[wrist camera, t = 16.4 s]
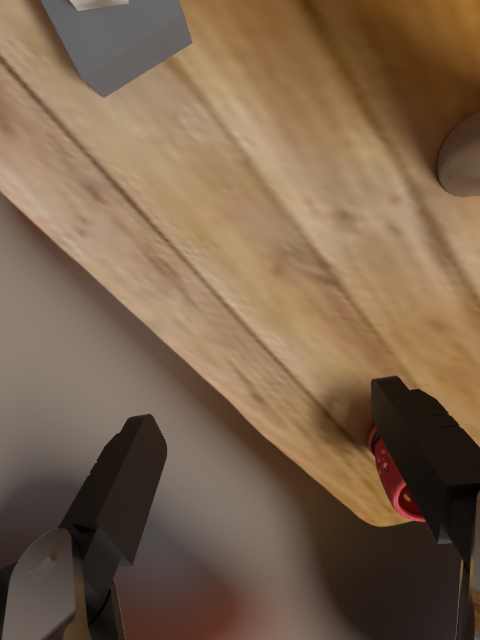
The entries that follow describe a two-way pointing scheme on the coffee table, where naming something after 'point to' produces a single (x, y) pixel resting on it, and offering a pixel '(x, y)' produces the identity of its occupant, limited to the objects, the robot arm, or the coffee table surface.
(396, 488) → the plant pot
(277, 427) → the coffee table surface
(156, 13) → the flat gray square
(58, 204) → the coffee table surface
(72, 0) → the taupe block
